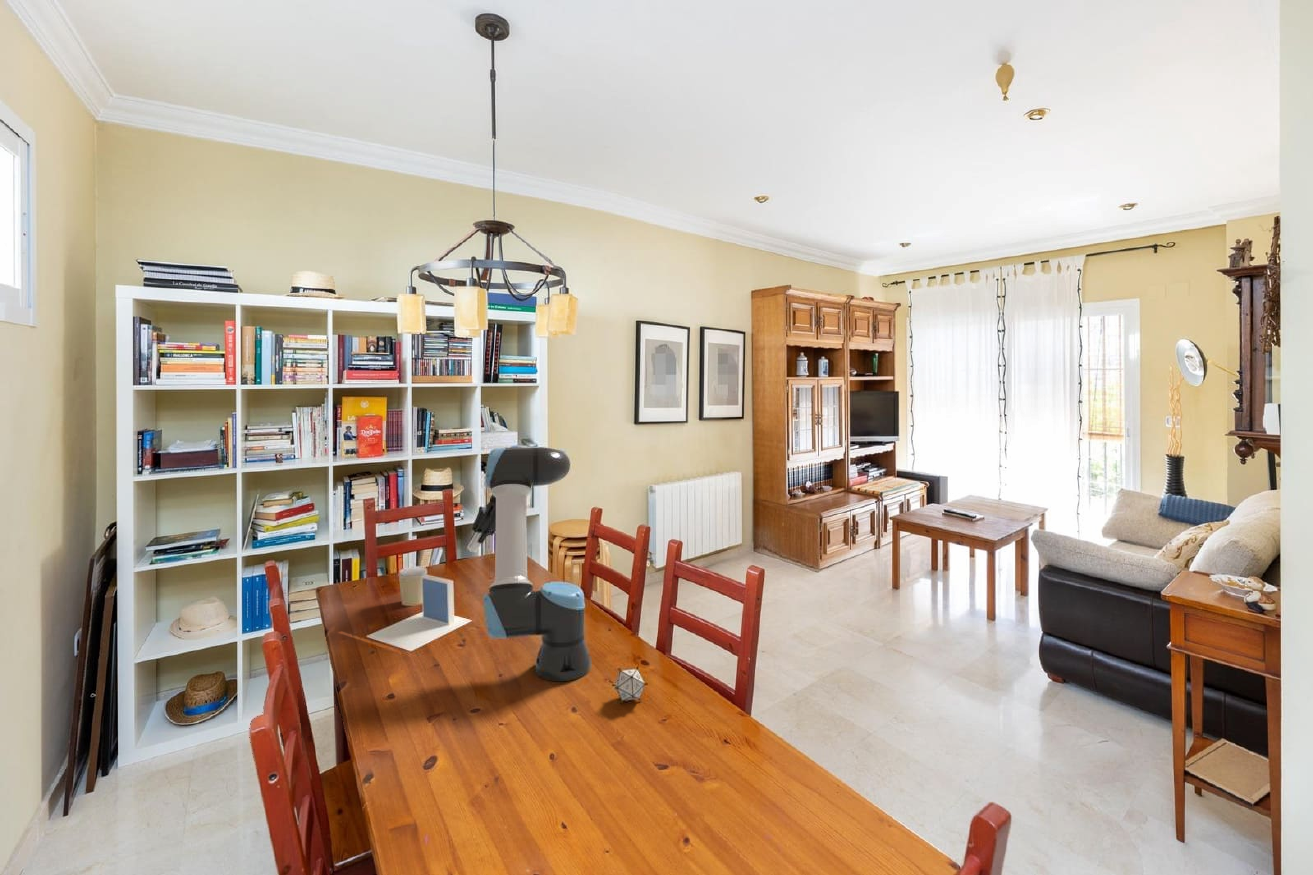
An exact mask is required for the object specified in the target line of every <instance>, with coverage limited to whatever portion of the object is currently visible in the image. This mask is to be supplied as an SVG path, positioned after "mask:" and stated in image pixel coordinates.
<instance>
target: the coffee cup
mask: <svg viewBox="0 0 1313 875" xmlns="http://www.w3.org/2000/svg"><path fill="white" fill-rule="evenodd" d="M425 575H428V570H427V568H426V567H425V566H419V565H417V566H416V565H415V566H408V567H404V568H401V569H400V570H399V572H398V579H399V589H400V598H401V599H400V600H401V605H402V606H407V607H414V606H418V605H422V576H425Z"/></svg>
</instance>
